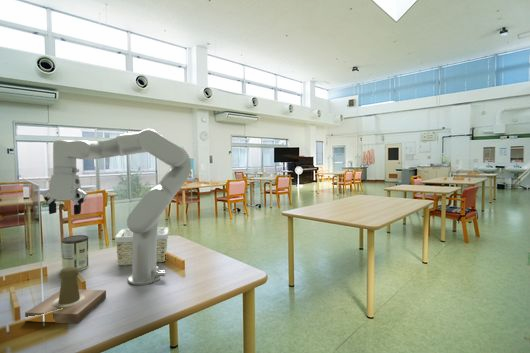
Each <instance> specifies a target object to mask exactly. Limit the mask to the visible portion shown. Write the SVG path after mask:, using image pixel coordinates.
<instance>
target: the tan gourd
mask: <svg viewBox="0 0 530 353" xmlns="http://www.w3.org/2000/svg"><path fill="white" fill-rule="evenodd" d="M78 275H79V271H78V269H77V268H76V267H67V268H64V269H62V268H61V270H60V272H59V278H60V279H61V283H60V289H59V291H60V295H59V302H58V303H59V304H62V305H65V304H71V303H74V302H76V301H78V300H79V299H80V295H79V284H78V283H79V282H78V279H77V277H78Z"/></svg>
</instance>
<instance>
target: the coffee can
mask: <svg viewBox="0 0 530 353" xmlns="http://www.w3.org/2000/svg"><path fill="white" fill-rule="evenodd" d="M61 262H62V263H61V266H62V267H61V270H62V269H64V268H67V267H76V268H77V269H78V272H80V271H83V270H86V269H87V268H88V267H89V236H88V235H83V234H76V235H69V236H65V237H63V238H61Z"/></svg>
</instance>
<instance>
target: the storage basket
mask: <svg viewBox="0 0 530 353" xmlns="http://www.w3.org/2000/svg"><path fill="white" fill-rule="evenodd" d="M169 232H170V230H169V226H167V227H166V226H165V227H157V263H163V262H164V261H165V262H166V260H165V254H166V251H168V250H167V249H168V238H169V234H170V233H169ZM114 242H115V244H116V257H117V265H118V266H131V265H132V244H133V232H131V231H130V230H129V229H128V228H122V229H120V230H119V231H118V232H117V234H116V235H115V236H114ZM166 255H167V254H166Z"/></svg>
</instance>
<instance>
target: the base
mask: <svg viewBox="0 0 530 353" xmlns="http://www.w3.org/2000/svg"><path fill="white" fill-rule="evenodd" d="M78 289H79V288H78ZM59 295H60V290H58V291H57V292H55V293H53V294H52V295H51V296H49V297H47V298H45V299H44V300H43V301H41V302H40V303H38V304H37V305H34V306H33V307H32V308H30V309H29V310H27V311H26V312H25V313H24V318H25V317H28V316H35V315H41V314H44V313H47V312H50V311H55V310H57V309H61V308H63V309H62V310H58V311H55V312H54V313H52V314H53V319H54V320H55V323H54V324H78V323H79V322H81V321H82V320H83V319H84V318H85V317H86V316H87V315H89V314H90V313H91V312H92V311H93V310H94V309H96V308H97V307H98V306H99V305H100V304H101V303H102V302H104V301H105V299H107V290H106V289H79V295H80V299H79V300H78V301H76V302H74V303H71V304H65V305H62V304H59V303H58V302H59Z"/></svg>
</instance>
